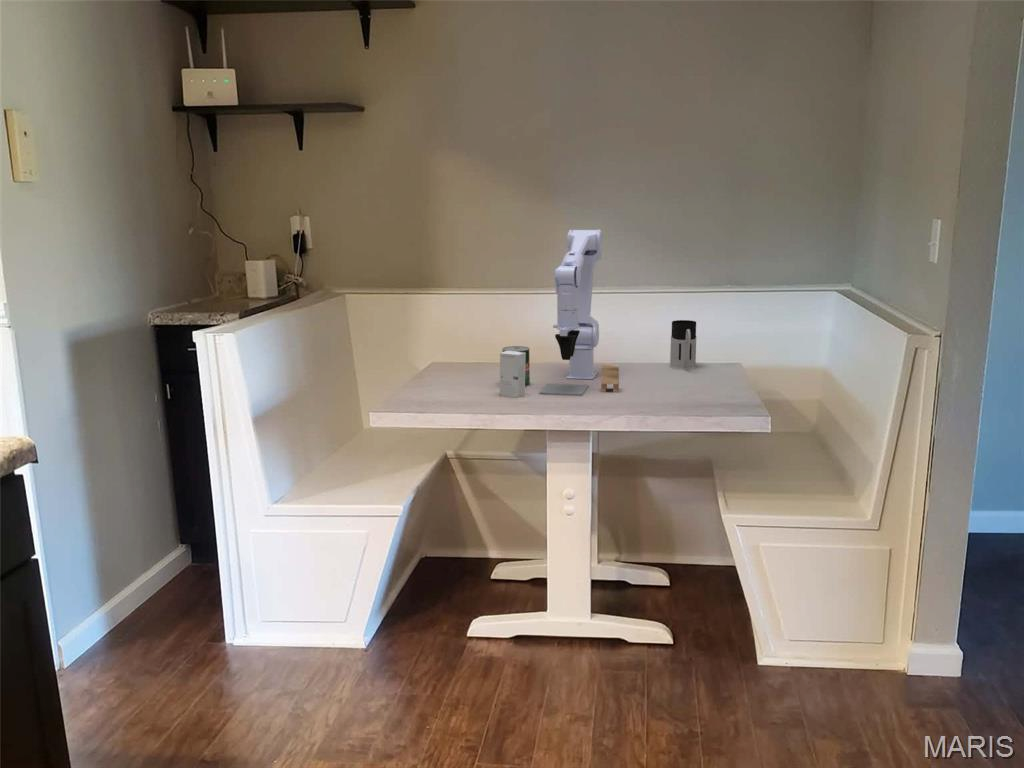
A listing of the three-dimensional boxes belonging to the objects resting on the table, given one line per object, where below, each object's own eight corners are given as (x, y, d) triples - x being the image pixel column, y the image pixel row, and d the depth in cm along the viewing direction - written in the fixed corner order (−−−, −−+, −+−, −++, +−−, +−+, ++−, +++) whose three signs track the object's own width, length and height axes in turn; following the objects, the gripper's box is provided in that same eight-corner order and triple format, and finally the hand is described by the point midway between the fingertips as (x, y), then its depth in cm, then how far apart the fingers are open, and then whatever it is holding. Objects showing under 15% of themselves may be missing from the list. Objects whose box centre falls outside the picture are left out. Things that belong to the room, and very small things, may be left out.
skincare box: (499, 396, 235) (498, 352, 233) (507, 392, 239) (506, 350, 236) (518, 398, 232) (518, 354, 230) (526, 395, 236) (526, 351, 233)
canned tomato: (527, 388, 244) (526, 350, 241) (500, 388, 245) (499, 350, 243) (532, 383, 251) (531, 346, 249) (505, 382, 253) (505, 345, 251)
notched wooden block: (602, 389, 242) (602, 364, 240) (618, 389, 241) (618, 365, 239) (601, 392, 237) (601, 367, 236) (617, 393, 237) (617, 368, 235)
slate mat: (547, 385, 247) (547, 383, 247) (588, 387, 245) (588, 385, 244) (539, 394, 236) (539, 392, 236) (582, 396, 233) (582, 394, 233)
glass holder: (694, 366, 273) (695, 319, 270) (702, 375, 259) (704, 326, 256) (666, 366, 273) (667, 320, 270) (673, 375, 260) (675, 326, 256)
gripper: (557, 306, 243) (557, 353, 246) (548, 312, 229) (548, 362, 232) (582, 306, 242) (582, 353, 244) (574, 312, 228) (574, 362, 231)
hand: (567, 358), depth 238 cm, fingers open, 5 cm apart
